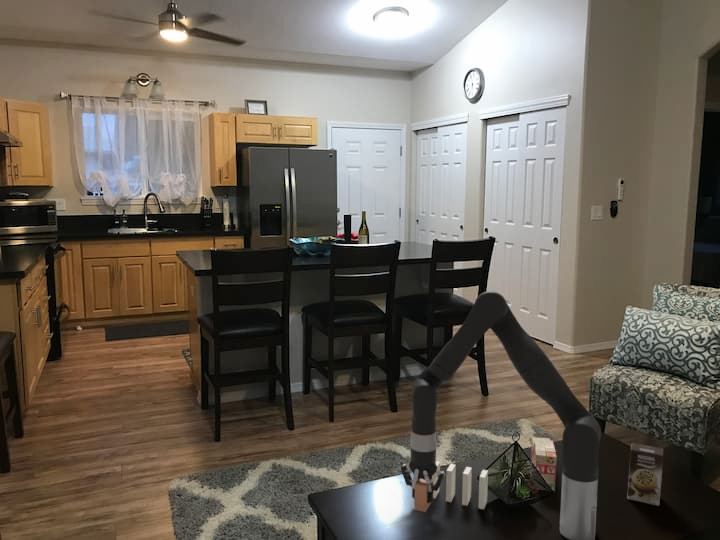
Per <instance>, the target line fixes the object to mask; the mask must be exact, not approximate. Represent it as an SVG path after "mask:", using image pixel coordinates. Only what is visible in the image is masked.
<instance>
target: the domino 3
mask: <svg viewBox="0 0 720 540" xmlns="http://www.w3.org/2000/svg"><path fill="white" fill-rule="evenodd" d="M456 465H457V464H455V463H450V464H449V466H448V467H447V469H446V474H445V478H446V480H445V481H446V482H445V502H449V503H452V501H453V499H454V497H455V495H456V474H457V473H456V471H457V470H456V469H457V468H456Z"/></svg>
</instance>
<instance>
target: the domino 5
mask: <svg viewBox="0 0 720 540" xmlns="http://www.w3.org/2000/svg"><path fill="white" fill-rule="evenodd" d="M478 482H479V483H478V484H479V485H478V509H480V510H485V508H486V506H487V503H488V490H489V488H488V486H489V485H488V483H489V470H487V469H482V471H481V473H480V475H479V481H478Z"/></svg>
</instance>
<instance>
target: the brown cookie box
mask: <svg viewBox="0 0 720 540" xmlns="http://www.w3.org/2000/svg"><path fill="white" fill-rule="evenodd" d="M664 451H665V450H664V448H663V447H662V448H661V447H658V446H657V447H656V446H652V445H646V444H640V443H634V442H632V443H631V445H630V457H629V468H628V481H627V482H628V483H627V496H626V498H627V500H631V501H636V502H640V503H645V504H648V505H653V506H657V507H660V499H661V491H662V490H661V489H662V488H661V487H662V478H663V477H662V475H663V463H664Z"/></svg>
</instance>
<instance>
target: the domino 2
mask: <svg viewBox="0 0 720 540" xmlns="http://www.w3.org/2000/svg"><path fill="white" fill-rule="evenodd" d="M436 466H437V469H439V470H441V461H439V460H436ZM432 477H433V485H435V484H436V482H437V480H438V478H437V474H436V473H435V474H434V475H433V476H432ZM440 488H441V486H440V487H439V488H438V490H437V491H433V499H435V500H436V498H437V496H438V495H439V493H440Z"/></svg>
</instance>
